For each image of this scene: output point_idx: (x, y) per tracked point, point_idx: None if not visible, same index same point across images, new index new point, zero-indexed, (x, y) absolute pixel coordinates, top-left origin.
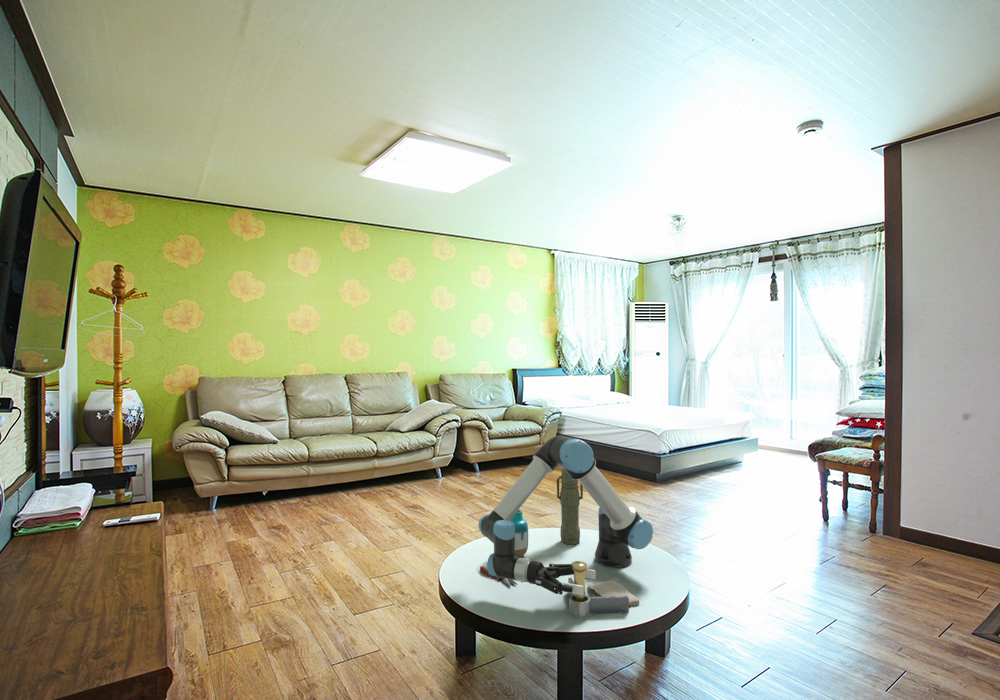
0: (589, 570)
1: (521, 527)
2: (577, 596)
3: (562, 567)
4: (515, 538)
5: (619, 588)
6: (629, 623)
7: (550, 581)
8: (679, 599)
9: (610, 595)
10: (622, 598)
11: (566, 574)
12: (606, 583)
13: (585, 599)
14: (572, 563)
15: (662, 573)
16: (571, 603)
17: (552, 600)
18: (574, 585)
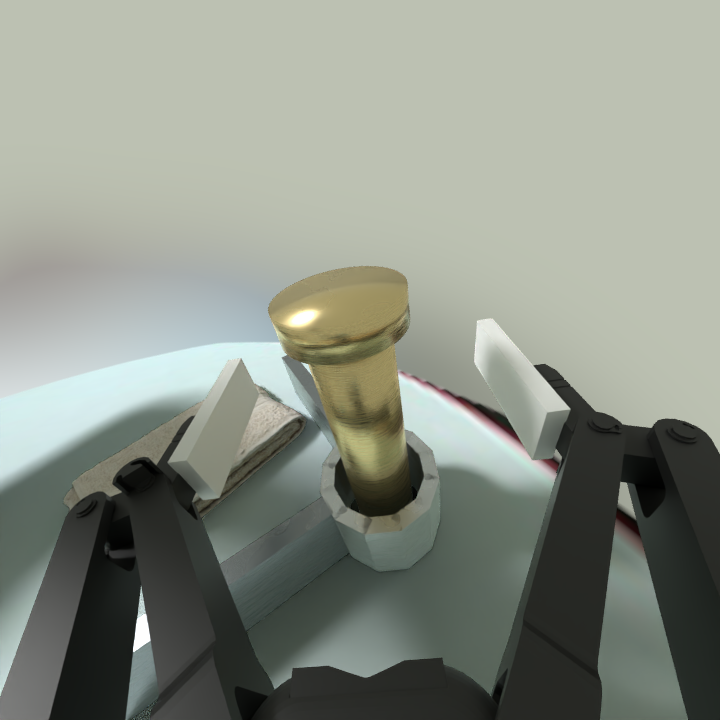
0: (230, 379)
1: None
2: (407, 457)
3: (152, 621)
4: None
5: (170, 431)
6: None
7: (706, 556)
8: (211, 345)
9: None
10: (300, 364)
11: (222, 576)
12: (108, 489)
13: (343, 467)
14: (353, 316)
15: (45, 403)
16: (433, 507)
17: None
18: (516, 348)
